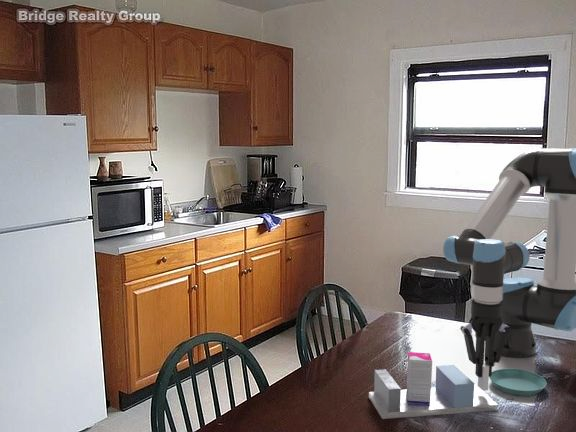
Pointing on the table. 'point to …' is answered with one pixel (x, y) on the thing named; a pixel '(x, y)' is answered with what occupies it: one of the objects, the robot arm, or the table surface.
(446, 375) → the block
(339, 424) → the table surface
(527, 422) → the table surface
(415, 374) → the supplement box
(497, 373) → the saucer
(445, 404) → the base
